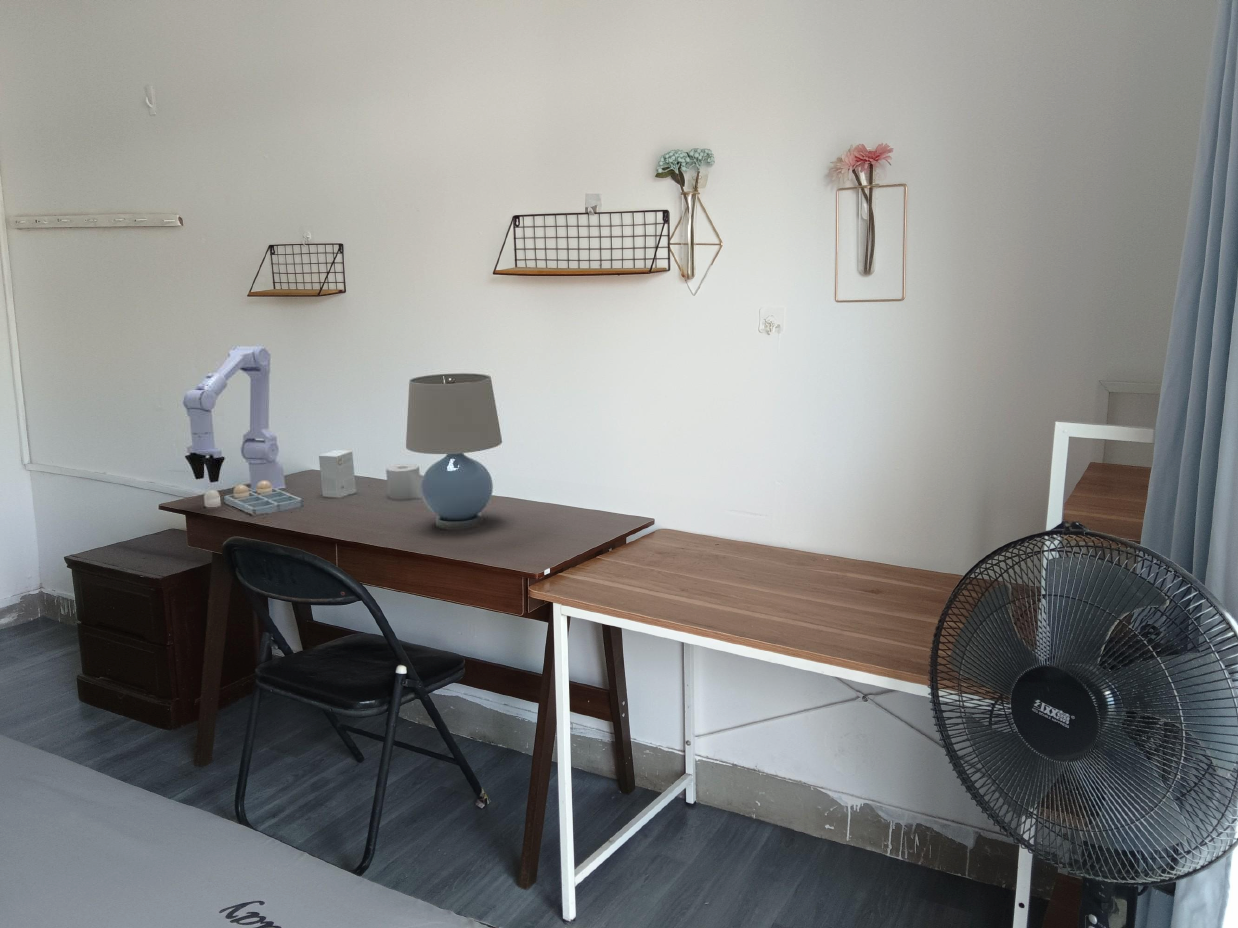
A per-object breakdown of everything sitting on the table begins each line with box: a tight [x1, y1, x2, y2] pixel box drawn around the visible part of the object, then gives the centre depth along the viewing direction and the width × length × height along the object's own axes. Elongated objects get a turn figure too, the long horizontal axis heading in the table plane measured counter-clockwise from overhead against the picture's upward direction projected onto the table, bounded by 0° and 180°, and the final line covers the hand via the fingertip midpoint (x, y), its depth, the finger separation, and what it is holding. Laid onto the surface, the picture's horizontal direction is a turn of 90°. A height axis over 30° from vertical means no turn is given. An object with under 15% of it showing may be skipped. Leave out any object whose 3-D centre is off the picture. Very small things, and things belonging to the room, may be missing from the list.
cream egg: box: [203, 489, 222, 508], centre depth 268 cm, size 4×4×5 cm
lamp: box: [405, 372, 503, 531], centre depth 243 cm, size 25×25×39 cm
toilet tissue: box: [385, 463, 424, 501], centre depth 277 cm, size 9×13×9 cm
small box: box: [318, 449, 357, 499], centre depth 278 cm, size 8×6×13 cm
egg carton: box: [223, 487, 305, 514], centre depth 269 cm, size 14×21×2 cm
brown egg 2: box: [257, 480, 272, 495], centre depth 276 cm, size 4×4×5 cm
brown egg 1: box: [232, 484, 250, 500], centre depth 271 cm, size 4×4×5 cm
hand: (206, 480), depth 264 cm, fingers open, 7 cm apart
